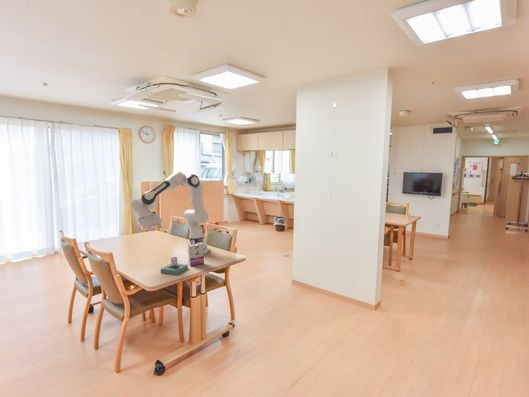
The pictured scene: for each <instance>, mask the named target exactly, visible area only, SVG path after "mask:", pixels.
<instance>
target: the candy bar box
mask: <svg viewBox="0 0 529 397" xmlns="http://www.w3.org/2000/svg"><path fill="white" fill-rule="evenodd" d="M187 246H188V247H187V248H188V249H187V250H188V252H187V254H188V266H190V267H195V266H199V265H204V264H205V262H204V261H205V258H204V257H205V256H204V254H205V253H204V249H203V244H202V243H198V244H192V245H189V244H188V245H187Z"/></svg>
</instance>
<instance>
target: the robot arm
mask: <svg viewBox="0 0 529 397" xmlns="http://www.w3.org/2000/svg"><path fill="white" fill-rule="evenodd" d="M179 186H183V187H186V188H187V187H188V188H190V200H189V202H190V205H191V206H192V207H193V209H186V210H185V211H184V213H183V219H184V220H185V221H186V222H187V226H188V228H189V242H188V245H192V244H198V243H202V244H203V249H204V254H207V253H208V251H210V250H211V248H210V247H208V243H207V242H206V241H205V240H204V239H205V235H204V236H203V227H202V226H201V225H200V224H203V223H206V222H207V221H208V220H209V213H208V211H206V209H205V206H204V185H203V184H202V183H201V181H200V178H199V176H198V175H197V174H192V173H188V174H187V173H183V172H182V171H176V172H174V173H172V174H171V175H170V176H168V177H166V179H164V180H163V181H162V182H160V183H159V184H158V185H157V186H154V188H152V189H150V190H147V191H145V192H144V193H142V195H141V197H140V198H135V199H133V200H132V201H131V203H130V208H131V209H132V210H133V211H134V213H135V214H137V215H138V222H139V225H141V227H142V228H143V229H149V230H150V231H152V232H155V230H156V229H155V227H156V226H158V228H159V229H160V230H161V229H162V228H163V226H162V222H163V219H162V218H161V217H160V216H159V214H157V212H156V211H151V210H152V209H154V208H155V207H156V205H157V202H156V201H157V200H156V199H157V197H158V196H159V195H161V194H162V193H163V192H165V191H167V192H173V191H175V190H176V189H177V188H178V187H179ZM154 226H155V227H154ZM186 252H187V253H188V249H187V251H186Z"/></svg>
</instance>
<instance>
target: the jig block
mask: <svg viewBox="0 0 529 397" xmlns="http://www.w3.org/2000/svg"><path fill="white" fill-rule="evenodd" d="M188 266H189V264H183V263H177V268H176V269H175V268H171V263H169V264H166V265H165V266H163V267H161V268H160V273H161V274H169V275H176V276H177V275H180V274H181V273H183V272H185V271H186V270H188V269H189V267H188Z"/></svg>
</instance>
